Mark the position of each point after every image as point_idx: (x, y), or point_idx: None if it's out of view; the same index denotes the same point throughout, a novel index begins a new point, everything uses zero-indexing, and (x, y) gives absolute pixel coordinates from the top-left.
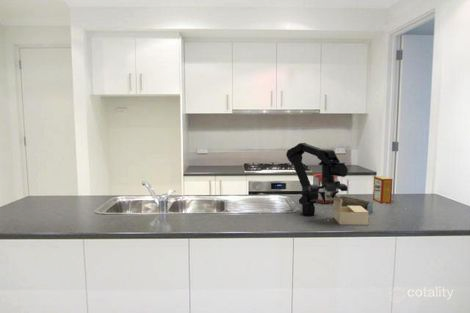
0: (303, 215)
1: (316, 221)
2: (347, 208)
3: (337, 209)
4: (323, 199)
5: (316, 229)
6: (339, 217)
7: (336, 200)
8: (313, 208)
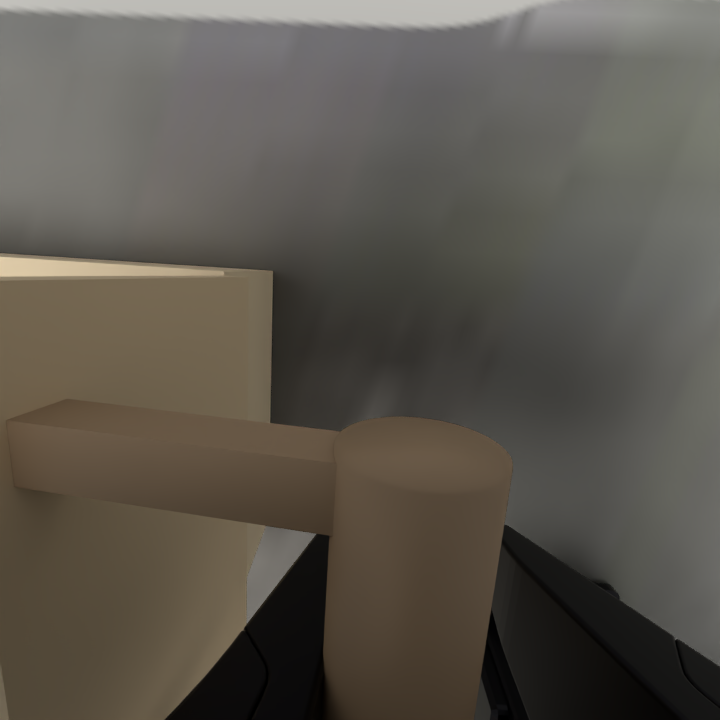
0: (608, 585)
1: (523, 394)
2: None
3: (234, 399)
4: (631, 609)
5: (642, 90)
6: (251, 301)
7: (197, 420)
8: (508, 681)
